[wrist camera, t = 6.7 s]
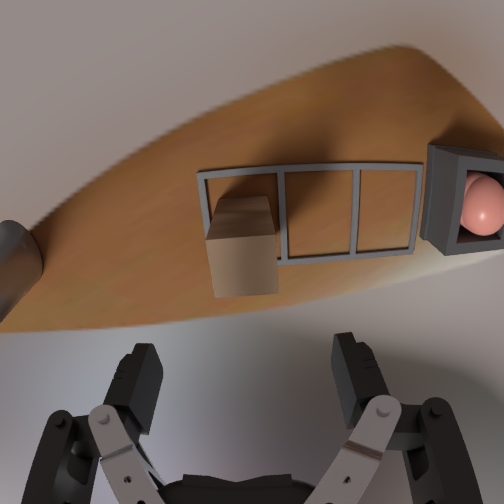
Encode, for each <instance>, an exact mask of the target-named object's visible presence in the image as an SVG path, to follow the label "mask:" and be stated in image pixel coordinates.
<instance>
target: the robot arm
mask: <svg viewBox="0 0 504 504" xmlns="http://www.w3.org/2000/svg"><path fill="white" fill-rule="evenodd" d="M42 266H43V265H42V258H41V254H40V251H39V248H38V246H37V244H36V242H35V240H34V238H33V237H32V236H31V234H30V233H29V232H28V230H27V229H25V228H24V227H23V226H22V225H21V224H19V223H18V222H15V221H12V220H6V221H3V222H1V223H0V324H1V322H2V321H3V320H4V319H5V318H6V316H7V315H8V314H9V313H10V312H11V311H12V309H13V308H14V307H15V306H16V305H17V304H18V303H19V301H20V300H21V299H22V298H23V297H24V296H25V295H26V294H27V293H28V292H29V290H30V289H31V288H32V287H33V286H34V285H35V284H36V283H37V282H38V281H39V279H40V277H41V274H42ZM331 367H332V372H333V376H334V380H335V384H336V388H337V392H338V395H339V399H340V404H341V408H342V412H343V416H344V420H345V424H346V428H347V429H352V428H354V431H353V433H352V435H351V436H350V438H349V439H348V441H347V442H346V443H345V444H344V446H343V447H342V449H341V450H340V452H339V454H338V455H337V457H336V458H335V460H334V462H333V463H332V465H331V466H330V468H329V469H328V471H327V472H326V474H325V475H324V477H323V478H322V479H321V481H320V482H319V484H318V485H317V487H316V486H314V485H312V484H310V483H306V482H304V481H299V480H294V479H292V478H291V474H283V475H270V476H261V477H257V478H254V479H250V480H245V481H241V482H231V481H227V480H222V479H219V478H215V477H211V476H202V475H187V474H184V475H183V480H180V481H175V482H172V483H169V484H166V483H165V482H164V480H163V479H162V478H161V476H160V475H159V474H158V472H157V471H156V469H155V468H154V466H153V464H152V463H151V461H150V459H149V458H148V456H147V454H146V452H145V451H144V449H143V447H142V445H141V443H140V442H139V437H140V434H143V435H149V431H150V427H151V423H152V419H153V414H154V410H155V407H156V402H157V399H158V395H159V391H160V387H161V383H162V379H163V367H162V364H161V362H160V359H159V357H158V354H157V352H156V349H155V347H154V345H153V344H152V343H150V344H148V343H137V344H136V345H135V347H134V349H133V351H132V354H126V356H125V357H124V358H123V359H122V360H121V361H120V363H119V365H118V367H117V370H116V372H115V375H114V379H112V382H111V385H110V387H109V390H108V392H107V395H106V397H105V400H104V403H103V405H100V406H97V407H96V408H94V409H93V410H92V411H91V412H90V414H89V415H84V416H77V417H72V415H71V414H70V413H69V412H68V411H65V410H58V411H56V412H54V413H53V414H51V415H50V417H49V419H48V421H47V424H46V426H45V429H44V431H43V435H42V437H41V440H40V443H39V445H38V449H37V451H36V454H35V457H34V460H33V463H32V467H31V470H30V473H29V476H28V480H27V483H26V487H25V491H24V494H23V498H22V502H21V504H90V501H91V495H92V490H93V485H94V480H95V475H96V471H97V466H98V462H99V457H102V459H100V464H101V466H102V469H103V471H104V473H105V476H106V478H107V480H108V482H109V484H110V486H111V488H112V490H113V492H114V494H115V496H116V498H117V500H118V502H119V504H357V503H358V501H359V499H360V498H361V496H362V494H363V492H364V491H365V489H366V488H367V485H368V484H369V482H370V480H371V479H372V477H373V474H374V473H375V471H376V469H377V467H378V465H379V463H380V461H381V459H382V455H383V453H384V451H385V450H402V454H403V458H404V462H405V467H406V471H407V476H408V480H409V485H410V490H411V495H412V500H413V504H483V501H482V499H481V494H480V490H479V486H478V483H477V480H476V476H475V473H474V470H473V467H472V463H471V460H470V457H469V454H468V451H467V449H466V445H465V443H464V440H463V437H462V434H461V432H460V429H459V426H458V424H457V421H456V419H455V416H454V414H453V411H452V409H451V406H450V405H449V403H448V402H447V401H445V400H444V399H442V398H438V397H433V398H429V399H428V400H426V401H425V402H424V403H423V405H406V404H401V403H399V402H398V401H397V400H396V399H395V398H393V397H391V395H390V394H389V392H388V389H387V387H386V384H385V381H384V379H383V376H382V374H381V371H380V369H379V367H378V364H377V362H376V360H375V357H374V354H373V352H372V350H371V348H370V347H369V346H367V345H366V344H365V343H364V342H359V343H356V341H355V339H354V336H353V334H352V332H346V333H339V334H335V335H334V340H333V347H332V355H331Z"/></svg>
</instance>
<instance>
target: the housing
mask: <svg viewBox="0 0 504 504" xmlns="http://www.w3.org/2000/svg"><path fill="white" fill-rule="evenodd" d="M467 170H475V171H477V172H480V173H482V174H484V175H487V176H489V177H491V178H493V179H495V180H496V181H497V182H498V183H499V184H500V185H501V186H502V188H503V189H504V158H502V157H499V156H497V154H496V153H493V152H488V151H482V150H475V149H468V148H460V147H452V146H443V145H433V144H428V152H427V171H426V185H425V196H424V205H423V214H422V222H421V229H420V236H419V237H420V238H422V239H423V240H428V241H429V242H430V243H431V244H432V245H433V246H434V247H436V248H437V249H438V250H439V251H440V252H441V253H442V254H443V255H444V256H449V255H458V254H466V253H475V252H483V251H491V250H499V249H504V224H503V226H502V227H501V228H500V229H499V230H498V231H497V232H495V233H493V234H491V235H485V236H483V235H477V234H474V233H472V232H471V231H469V230H468V229H467V228H465V227H464V226H462V225H461V224H460V221H461V215H462V208H463V201H464V193H465V185H466V175H467Z"/></svg>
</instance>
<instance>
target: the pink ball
mask: <svg viewBox="0 0 504 504" xmlns="http://www.w3.org/2000/svg"><path fill="white" fill-rule="evenodd" d="M460 224H461V225H462V226H464V227H465V228H467V229H468V230H469V231H471V232H472V233H474V234H477V235H483V236H485V235H491V234H493V233H495V232H497V231H498V230H499V229H500V228H501V227H502V226H503V224H504V189H503V188H502V186H501V185H500V184H499V183H498V182H497V181H496V180H495V179H493V178H491V177H489V176H487V175H484V174H482V173H480V172H477V171H475V170H467V175H466V185H465V193H464V201H463V208H462V215H461V221H460Z"/></svg>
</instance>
